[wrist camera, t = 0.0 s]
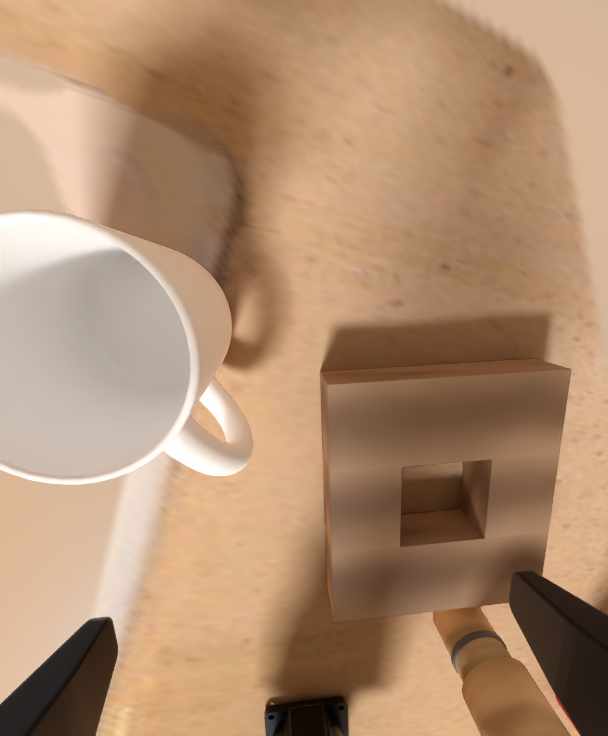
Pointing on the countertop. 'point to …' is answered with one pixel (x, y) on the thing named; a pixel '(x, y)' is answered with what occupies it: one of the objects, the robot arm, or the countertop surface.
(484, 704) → the peg
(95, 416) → the mug
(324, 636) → the countertop surface
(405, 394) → the board
